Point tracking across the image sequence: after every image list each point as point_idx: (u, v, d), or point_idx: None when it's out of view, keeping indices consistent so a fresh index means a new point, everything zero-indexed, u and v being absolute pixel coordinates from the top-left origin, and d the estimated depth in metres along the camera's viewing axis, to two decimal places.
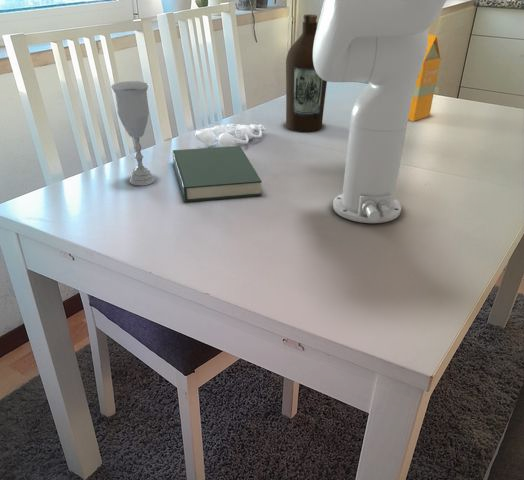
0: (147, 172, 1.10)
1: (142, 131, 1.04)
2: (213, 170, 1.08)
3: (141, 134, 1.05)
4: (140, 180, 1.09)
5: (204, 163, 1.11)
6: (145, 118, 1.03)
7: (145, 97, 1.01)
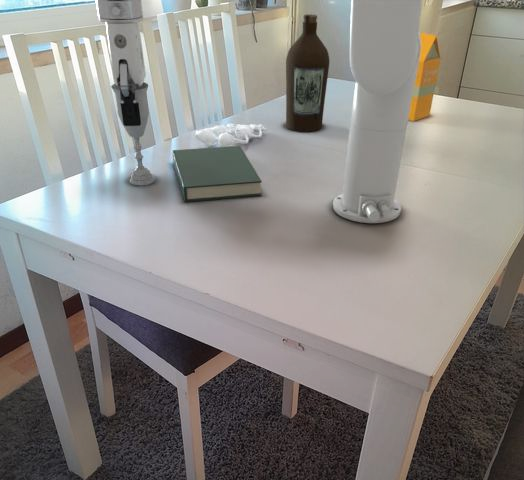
0: (147, 172, 1.10)
1: (142, 131, 1.04)
2: (213, 170, 1.08)
3: (141, 134, 1.05)
4: (140, 180, 1.09)
5: (204, 163, 1.11)
6: (145, 118, 1.03)
7: (145, 97, 1.01)
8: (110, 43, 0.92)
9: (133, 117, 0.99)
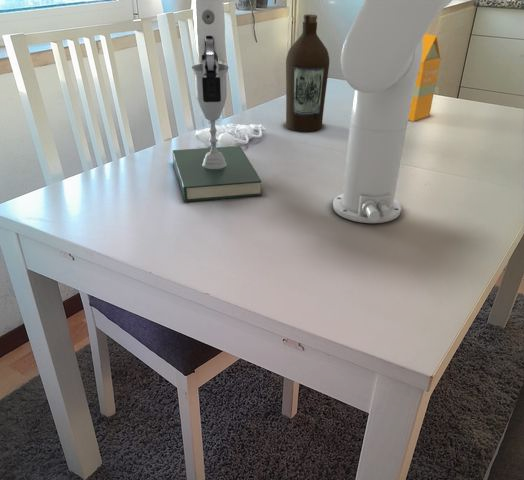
0: (221, 156, 1.09)
1: (219, 114, 1.04)
2: (213, 170, 1.08)
3: (218, 117, 1.04)
4: (213, 164, 1.09)
5: None
6: (223, 100, 1.02)
7: (225, 79, 1.00)
8: (198, 19, 0.91)
9: (214, 92, 0.97)
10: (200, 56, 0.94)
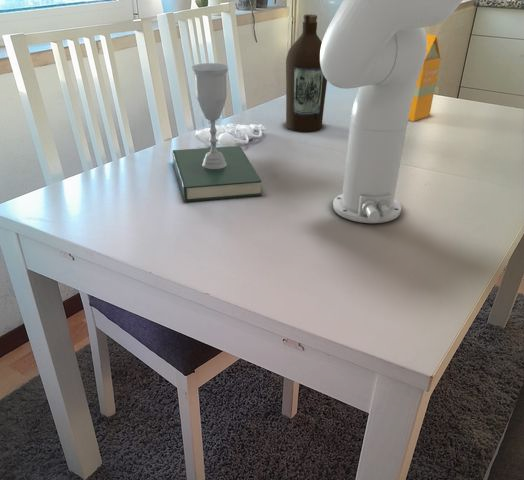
0: (221, 156, 1.09)
1: (219, 113, 1.04)
2: (213, 170, 1.08)
3: (218, 117, 1.04)
4: (213, 164, 1.09)
5: None
6: (224, 100, 1.02)
7: (225, 79, 1.00)
8: None
9: None
10: None
